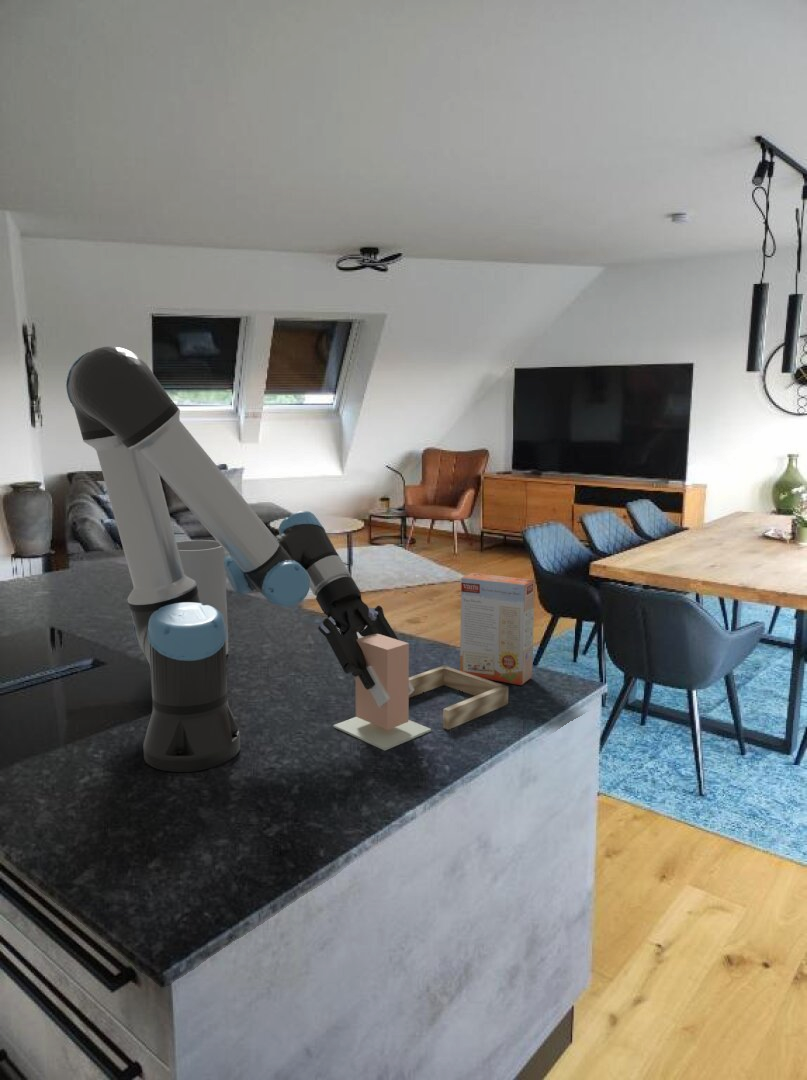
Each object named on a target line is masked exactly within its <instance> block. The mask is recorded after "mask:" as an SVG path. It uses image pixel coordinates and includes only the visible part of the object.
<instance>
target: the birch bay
mask: <svg viewBox="0 0 807 1080" xmlns="http://www.w3.org/2000/svg"><path fill="white" fill-rule="evenodd" d="M409 681H410V683H411V685H412V686H413V688H414V691H413V692H412V693H411V694H410V695H409V699H410V698H413V697H415V696H418V695H421V694H424V693H426V692H428V691H431V690H434V689H437V688H440V687H442V686H446V687H448V688H451V689H454V690H457V691H459V690H460V692H462V691H463V693H466V694H468V695H471V696H472V697H469V698H466V699H464V700H463V701H460V702H459V701H458V702H457V703H454V704H452V705H450V706H447V707H445V708H443V710H442V728H443V729H445V730H451V729H453V728H456V727H458V726H461V725H463V724H465V723H467V722H469V721H472V720H475V719H477V718H479V717H482V716H484V715H486V714H488V713H491V712H494V711H495V710H498V709H500V708H503V707H505V706H508V704H509V686H508V685H505V684H503V683H499V682H497V681H496V682H495V681H494V680H490V679H485V678H481V677H478V676H474V675H471V674H468V673H465V672H462V671H460V669H459V670H458V669H456V668H452V667H450V666H446V665H442V666H441V665H440V666H438V667H435V668H432V669H429V670H428V671H427V670H425V671H424V672H421V673H418V674H415V675H413V676H409ZM423 692H424V693H423Z"/></svg>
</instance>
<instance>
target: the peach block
mask: <svg viewBox="0 0 807 1080" xmlns="http://www.w3.org/2000/svg"><path fill="white" fill-rule="evenodd" d="M356 640H357V642H358V644H359V646H360V647H361V649H362V652H363V655H364V658H365V661H366V664H367V666H366V668H367V667H368V666H372V667H373V669H374V671H375V673H376V674H377V676H378V678H379V680H380V681H381V683H382V685H383V687H384V689H385V690H386V692H387V694H388V695H389V697H390V700H389V701H387V702H386V703H385V704H384V705H383V706H382V707H380V708H379V706H378V705H377V703H376V701H375V699H374V697H373V696H372V694H371V692H370V690H369V689H368V690H367V689H366V688H365V687H364V685H363V683H362V681H361V680H360V678H359V676H357V677H355V717H358V718H360V719H363V720H365V721H367V722H370V723H372V724H374V725H377V726H379V727H381V728H384V729H386V730H389V729H391V728H394V727H397V726H399V725H402V724H404V723H407V722H409V720H410V719H409V718H410V717H409V702H410V701H409V699H410V698H409V677H410V674H409V673H410V671H409V670H410V656H409V655H410V643H409V642H405V641H403V640H400V639H398V640H397V639H393V638H390V637H387V636H384V635H380V634H372V635H369V636H365V637H362V638H358V639H356Z"/></svg>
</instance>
